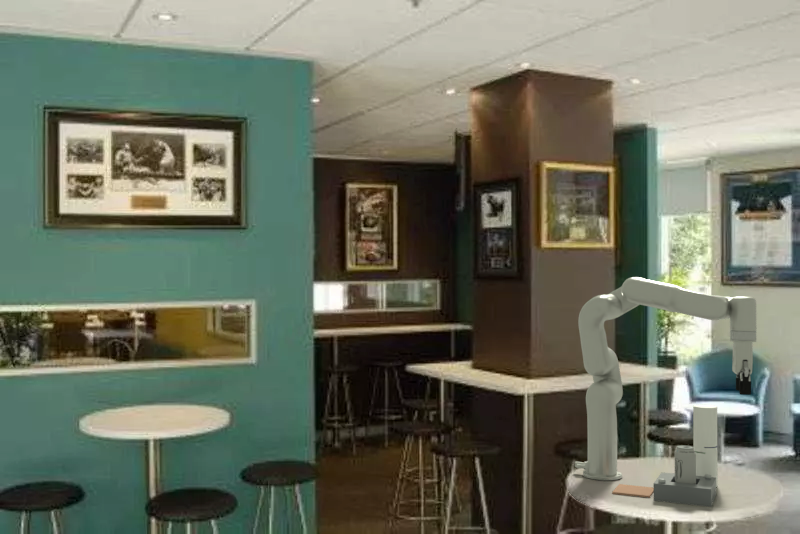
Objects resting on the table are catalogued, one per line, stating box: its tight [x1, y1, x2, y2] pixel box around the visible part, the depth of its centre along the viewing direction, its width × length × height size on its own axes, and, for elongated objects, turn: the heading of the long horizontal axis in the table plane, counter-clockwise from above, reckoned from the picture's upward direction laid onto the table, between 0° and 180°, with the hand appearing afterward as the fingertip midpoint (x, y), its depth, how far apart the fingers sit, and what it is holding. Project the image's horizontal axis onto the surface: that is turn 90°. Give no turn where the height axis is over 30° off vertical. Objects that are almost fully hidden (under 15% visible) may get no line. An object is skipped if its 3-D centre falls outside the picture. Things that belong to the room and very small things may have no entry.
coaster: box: [611, 483, 654, 499], centre depth 257 cm, size 11×11×1 cm
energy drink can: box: [674, 444, 696, 484], centre depth 251 cm, size 6×6×15 cm
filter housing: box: [653, 472, 717, 508], centre depth 251 cm, size 16×16×6 cm
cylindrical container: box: [692, 404, 719, 488], centre depth 265 cm, size 7×7×25 cm
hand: (743, 392), depth 258 cm, fingers open, 9 cm apart
